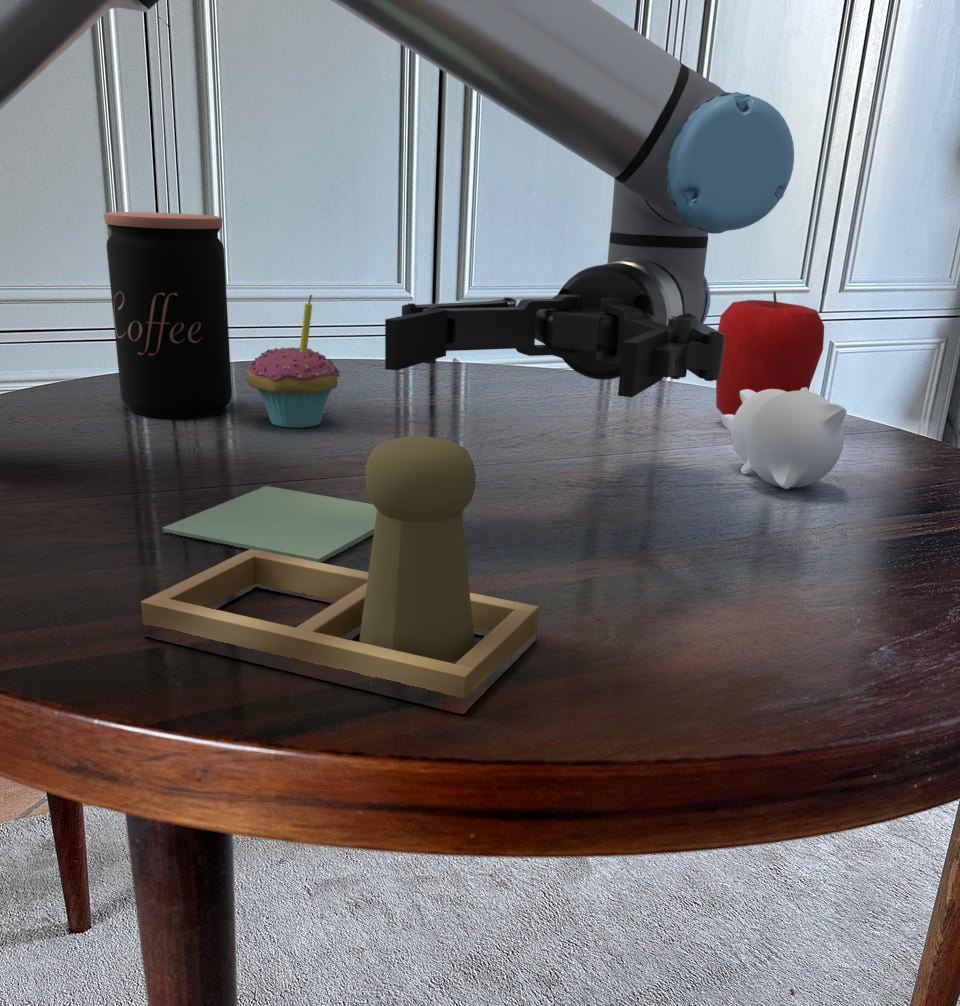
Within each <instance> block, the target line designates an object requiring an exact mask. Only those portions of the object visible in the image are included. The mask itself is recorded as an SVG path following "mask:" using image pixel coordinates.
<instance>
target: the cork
mask: <svg viewBox="0 0 960 1006" xmlns="http://www.w3.org/2000/svg"><path fill="white" fill-rule="evenodd" d="M366 462H367V463H366V466H365V471H364V472H365V473H364V474H365V489H366V492H367V497H368V500H369V501H370V502H371V504H373V505H374V506H375V508H376V509H377V514H376V521H375V529H374V534H373V536H372V537H373V538H372V544H371V550H370V559H369V566H368V571H367V572H368V580H367V587H366V594H365V601H364V609H363V616H362V623H361V630H360V635H359V638H358V642H361V643H365V644H369V645H374V646H378V647H383V648H387V649H391V650H396V651H400V652H405V653H409V654H413V655H418V656H422V657H426V658H431V659H435V660H440V661H444V662H448V663H451V662H454V661H457V660H458V661H459V660H460V659H461V658H462V657H463V656H464V655H465V654H466V653H467V652H469V651H470V650H471V649H472V648H473V647H474V646H475V645H476V644H475V635H474V632H473V622H472V611H471V600H470V593H471V592H470V591H471V590H470V581H469V571H468V560H467V558H468V557H467V548H466V537H465V526H464V516H463V512H464V510H465V509H466V507H468V505H469V504H470V502H471V501H472V499H473V496H474V493H475V489H476V478H477V474H476V469H475V464H474V461H473V459H472V457H471V455H470V453H469V451H468V450H467V449H466V448H464V446H461V444H459V443H456V442H454V441H451V440H448V439H444V438H439V437H432V436H419V435H418V436H416V435H415V436H414V435H413V436H404V437H403V436H402V437H396V438H391V439H386V440H385V441H383V442H382V443H379V444H378V445H376V446H375V447H374V448H373V449H372V451H371V453H370V454H369V456H368V457H367V461H366Z"/></svg>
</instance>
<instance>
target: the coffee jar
mask: <svg viewBox="0 0 960 1006" xmlns="http://www.w3.org/2000/svg"><path fill="white" fill-rule="evenodd" d="M103 219H104V224H106V225H107V227H108V228H109V230H110V236H109V237H108V239H107V240H106V254H107V256H106V257H107V267H108V274H109V275H108V276H109V286H110V296H111V306H112V318H113V327H114V337H115V348H116V357H117V368H118V369H117V370H118V378H119V389H120V397H121V399H122V402H124V404H126V406H127V407H128V409H129V411H130V412H131V413H133V414H135V415H139V416H142V417H143V416H144V417H149V418H158V419H159V418H160V419H193V418H203V417H210V416H214V415H218V414H221V413H223V412H225V411H226V409H227V406H228V405H229V404H230V403H231V399H232V397H233V390H232V372H231V371H232V369H231V354H230V353H231V351H230V334H229V333H230V332H229V313H228V299H227V298H228V295H227V278H226V259H225V247H224V243H223V242H222V240H220V238H219V233H220V230H221V228H223V217H221V216H217V215H208V214H193V213H175V212H174V213H173V212H151V211H150V212H147V211H144V212H143V211H109V212H104V213H103Z"/></svg>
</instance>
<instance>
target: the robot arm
mask: <svg viewBox="0 0 960 1006" xmlns="http://www.w3.org/2000/svg"><path fill="white" fill-rule="evenodd" d="M159 1H160V0H0V111H1V110H2V109H3V108H4V107H5V106H6V105H7V104H9V103H10V102H11V101H12V100H13V99H14V98H15V97H16V96H17V95H18V94H20V93H21V92H22V91H23V90H24V89H25V88H26V87H27V86H28V85H29V84H31V82H33V81H34V80H35V79H36V78H37V77H38V76H39V75H40V74H42V73H43V71H44V70H46V69H47V68H49V66H50V65H51V64H52V63H53V62H55V61H56V60H57V59H58V58H59V57H60V56H61V55H62V54H63V53H64V52H65V51H67V50H68V48H70V47H72V45H73V44H74V43H75V42H76V41H77V40H78V39H80V37H82V36H83V35H84V34H85V33H87V31H89V30H90V29H91V28H92V27H93V26H94V25H95V24H96V23H97V22H98V21H99V20H100V19H102V18H103V17H104V16H105V15H106V14H107V13H108V12H109V11H110V10H113V9H124V10H130V11H135V12H142V13H147V12H148V11H149V10H150V9H152V8H153V7H154V6H155V5H156V4H157V3H158V2H159ZM330 2H332V3H334V4H336V5H338V6H339V7H341V8H342V9H344V10H346V11H347V12H348V13H350V14H352V15H353V16H355V17H357V18H358V19H360V20H362V21H363V22H364V23H366V24H368V25H370V26H371V27H373V28H374V29H376V30H377V31H379V32H380V33H382V34H383V35H386V36H387V37H388V38H390V39H391V40H393V41H396V43H398V44H400V45H401V46H403V47H404V48H406V49H407V50H409V51H411V52H412V53H414V54H416V55H417V56H418V57H420V58H422V59H424V60H425V61H427V62H428V63H430V64H432V65H433V66H435V67H436V68H438V69H439V70H441V71H443V72H444V73H446V74H447V75H448V76H451V77H452V78H454V79H456V80H457V81H458V82H460V83H462V84H463V85H464V86H467V87H468V88H470V89H472V90H473V91H474V92H475V93H478V94H479V95H481V96H482V97H484V98H485V99H487V100H489V101H491V102H492V103H494V104H495V105H497V106H498V107H500V108H501V109H503V110H505V111H506V112H508V113H510V114H511V115H513V116H515V117H516V118H517V119H519V120H520V121H523V122H524V123H526V124H527V125H529V126H530V127H532V128H534V129H535V130H537V131H538V132H540V133H541V134H543V135H545V136H546V137H548V138H549V139H551V140H553V141H554V142H555V143H557V144H559V145H561V146H562V147H564V148H566V149H567V150H569V151H570V152H572V153H574V154H575V155H577V156H578V157H580V158H581V159H583V160H585V162H588V163H589V164H591V165H593V166H594V167H596V168H597V169H599V170H601V171H602V172H603V173H605V174H606V175H608V176H610V177H611V178H613V179H614V181H613V193H612V194H613V196H612V208H611V222H610V233H609V242H608V253H607V263H604V264H599V265H598V264H597V265H594V266H590V267H587V268H585V269H582V270H580V271H579V272H576V273H575V274H573V276H572V277H570V278H569V279H568V280H567V281H566V282H565V283H564V284H563V286H562V287H561V288H560V290H559V291H558V293H557V294H556V295H554V296H553V297H552V298H523V299H521V300H519V302H517V299H515V298H512V297H506V296H505V297H504V298H500V299H493V300H486V301H485V300H484V301H483V300H481V301H464V302H463V301H462V302H445V303H444V302H443V303H442V302H441V303H423V304H416V303H413V302H412V303H409V302H408V303H407V304H403V305H401V315H399V316H395V317H391V318H385V319H384V342H385V344H384V369H385V370H389V371H400V370H403V369H406V368H410V367H414V366H417V365H420V364H429V365H436V363H437V362H436V361H437V359H441V358H445V357H446V356H447V352H456V351H485V350H516V352H517V353H519V354H522V355H525V356H529V357H541V356H542V357H543V356H554V357H557V358H559V359H562V360H563V361H564V363H565V364H566V365H567V366H568V367H569V368H571V370H573V371H575V372H576V373H578V374H579V375H581V376H583V377H586V378H588V379H593V380H600V381H601V380H602V381H604V380H605V381H608V380H613V379H618V378H619V379H618V380H619V381H618V390H617V396H618V397H624V398H633V397H635V396H638V395H639V394H640V393H642V392H645V391H646V390H647V389H649V388H650V387H652V386H653V385H655V384H657V383H659V382H661V381H662V380H663V379H664V378H670V379H671V380H680V379H685V378H686V377H687V373H688V371H689V372H690V373H692V374H693V375H695V376H696V377H697V378H698V379H703V380H704V381H705V382H713V381H716V380H717V379H720V372H721V365H722V357H723V350H724V342H725V334H723V333H721V332H719V331H718V329H715V328H714V327H713V328H712V327H711V326H709V325H707V324H705V323H706V322H705V321H706V319H707V317H708V314H709V311H710V306H711V291H710V286H709V283H708V280H707V278H706V275H705V270H706V262H707V254H708V253H707V252H708V243H709V234H713V235H715V234H723V233H724V232H728V231H737V230H741V229H744V228H747V227H750V226H751V225H754V224H755V223H757V222H759V221H760V220H762V219H764V218H766V216H768V214H770V212H771V211H772V210H774V209H775V207H776V206H777V205H778V204H779V202H780V201H781V200H782V199H783V198H784V195H785V193H786V190H787V189H788V186H789V184H790V181H791V178H792V174H793V170H794V165H795V147H794V140H793V135H792V133H791V129H790V127H789V125H788V123H787V121H786V120H785V118H784V117H783V115H782V114H781V112H779V110H778V109H777V108H776V107H774V106H773V105H772V104H771V103H769V102H768V101H765V100H764V99H762V98H760V97H757V96H753V95H751V94H747V93H742V92H738V91H735V92H727V91H725V90H723V89H722V88H721V87H720V86H719V85H718V84H716V83H715V82H712V81H710V80H709V79H708V78H706V77H704V76H703V75H701V74H700V73H699V72H698V71H695V70H693V69H692V68H690V67H688V66H686V65H685V64H683V63H682V62H681V61H680V60H679V59H678V58H676V57H675V56H674V55H672V54H671V53H669V52H667V51H666V50H665V49H663V48H662V47H660V46H659V45H657V44H656V43H655V42H653V41H652V40H651V39H649V38H647V37H646V36H644V35H643V34H642V33H641V32H638V31H637V30H636V29H634V28H633V27H631V26H629V25H628V24H627V23H625V22H624V21H622V20H621V19H620V18H618V17H616V16H615V15H613V14H612V13H611V12H609V11H608V10H607V9H605V8H604V7H602V6H601V5H599V4H598V3H596V2H595V1H593V0H330ZM536 341H538V342H540V343H541V344H536Z"/></svg>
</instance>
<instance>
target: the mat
mask: <svg viewBox="0 0 960 1006" xmlns="http://www.w3.org/2000/svg"><path fill="white" fill-rule="evenodd" d="M376 514H377V509H376V508H375V506H374V505H373V503H368V502H367V503H366V502H362V501H356V500H349V499H344V498H339V497H334V496H327V495H321V494H316V493H310V492H305V491H298V490H294V489H293V490H291V489H286V488H282V487H275V486H271V485H264V486H262V487H260V488H257V489H255V490H252V491H250V492H247V493H245V494H243V495H240V496H238V497H235V498H232V499H230V500H228V501H224V502H223V503H220V504H218V505H215V506H213V507H212V506H211V507H210V508H208V509H205V510H202V511H200V512H198V513H195V514H193V515H190V516H187V517H186V518H185V517H184V518H183V519H180V520H178V521H175V522H174V523H170V524H168V525H165V526H163V527H162V528H161V531H164V532H169V533H170V532H171V533H174V534H179V535H183V536H188V537H194V538H201V539H206V540H211V541H215V542H220V543H224V544H229V545H234V546H238V547H243V548H249V549H255V550H259V551H264V552H269V553H274V554H279V555H284V556H289V557H294V558H299V559H304V560H309V561H314V562H319V563H321V562H323V561H324V560H326V559H328V558H330V557H332V556H333V557H335V556H337V555H339V554H340V552H341V553H343V552H344V551H346V550H347V549H350V548H351V547H353V546H355V545H357V544H358V543H360V542H362V541H364V540H365V539H367V538H369V537H371V536H372V535H373V536H374V529H375V521H376ZM349 547H350V548H349ZM338 553H339V554H338ZM336 554H337V555H336ZM334 555H335V556H334ZM333 557H332V558H333ZM330 559H331V558H330ZM328 560H329V559H328ZM326 561H327V560H326ZM324 562H325V561H324ZM324 562H323V563H324Z"/></svg>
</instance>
